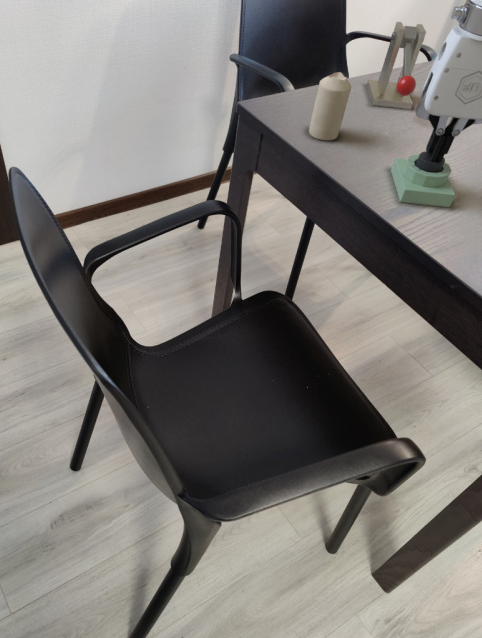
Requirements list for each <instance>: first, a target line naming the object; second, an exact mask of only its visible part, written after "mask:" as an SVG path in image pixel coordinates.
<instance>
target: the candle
mask: <svg viewBox="0 0 482 638" xmlns="http://www.w3.org/2000/svg"><path fill="white" fill-rule="evenodd" d="M351 90H352V85H351V83H350V80H349V79H348V77H345V75H344V74H343V73H342V72H340V71H338V72H333V73H332V74H330V75H327V76H326V77H323V78H322V79H321V80H319V84H318V87H317V93H316V97H315V100H314V101H315V102H314V105H313V110H312V115H311V119H310V124H309V127H308V133H309V135H310V136H311V137H313V138H315V139H317V140H321V141H333V140H335V139H336V140H337V138H338V136H339V133H340V131H341V127H342V124H343V120H344V116H345V112H346V109H347V105H348V102H349V97H350V95H351Z"/></svg>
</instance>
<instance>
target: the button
mask: <svg viewBox="0 0 482 638" xmlns="http://www.w3.org/2000/svg"><path fill="white" fill-rule="evenodd" d="M419 154H420V155H419V157H418V160H417V162H416V167H418V168H419V169H420V170H423V171H426V172H430V173H438V172H440V171H441V169H442V167H443V165H444V162H446V158H445V156H444V157H443V159H442V161H441V162H438V161H437V160H435V161H430V158H429V156H428V153H427V151H426V150H425V151H421V152H420V153H419Z"/></svg>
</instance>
